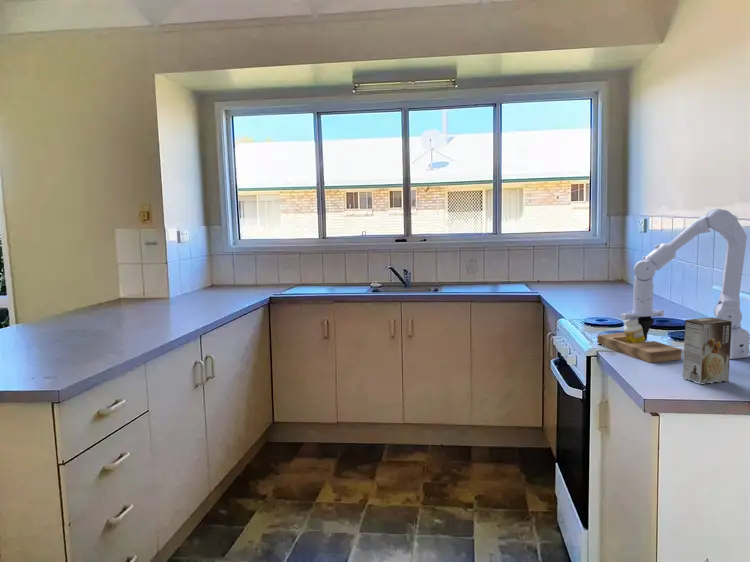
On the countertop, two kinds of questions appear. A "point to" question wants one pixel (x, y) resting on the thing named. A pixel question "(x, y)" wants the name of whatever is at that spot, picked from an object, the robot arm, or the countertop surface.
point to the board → (640, 348)
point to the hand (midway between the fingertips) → (641, 340)
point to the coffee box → (707, 350)
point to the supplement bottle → (633, 331)
